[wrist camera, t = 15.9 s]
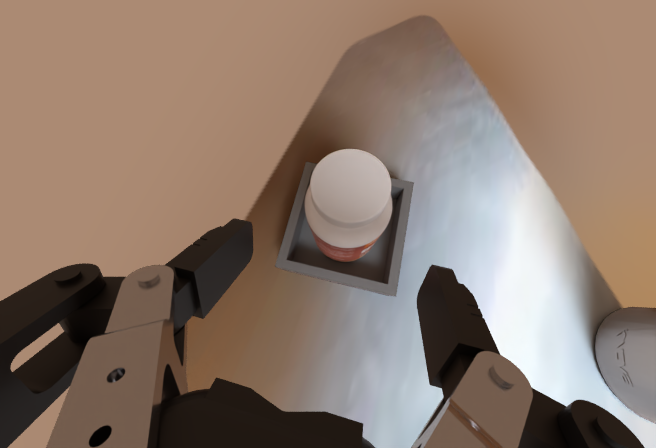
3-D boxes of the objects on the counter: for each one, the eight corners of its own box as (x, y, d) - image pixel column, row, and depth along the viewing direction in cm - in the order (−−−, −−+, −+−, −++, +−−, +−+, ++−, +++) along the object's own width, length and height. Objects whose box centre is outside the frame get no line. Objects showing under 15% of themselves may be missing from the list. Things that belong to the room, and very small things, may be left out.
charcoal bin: (403, 196, 26) (413, 182, 22) (387, 295, 23) (395, 296, 19) (310, 177, 27) (306, 161, 23) (283, 270, 24) (274, 266, 21)
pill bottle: (366, 270, 23) (393, 251, 12) (306, 253, 23) (281, 220, 13) (381, 212, 24) (415, 149, 14) (324, 197, 25) (314, 127, 14)
